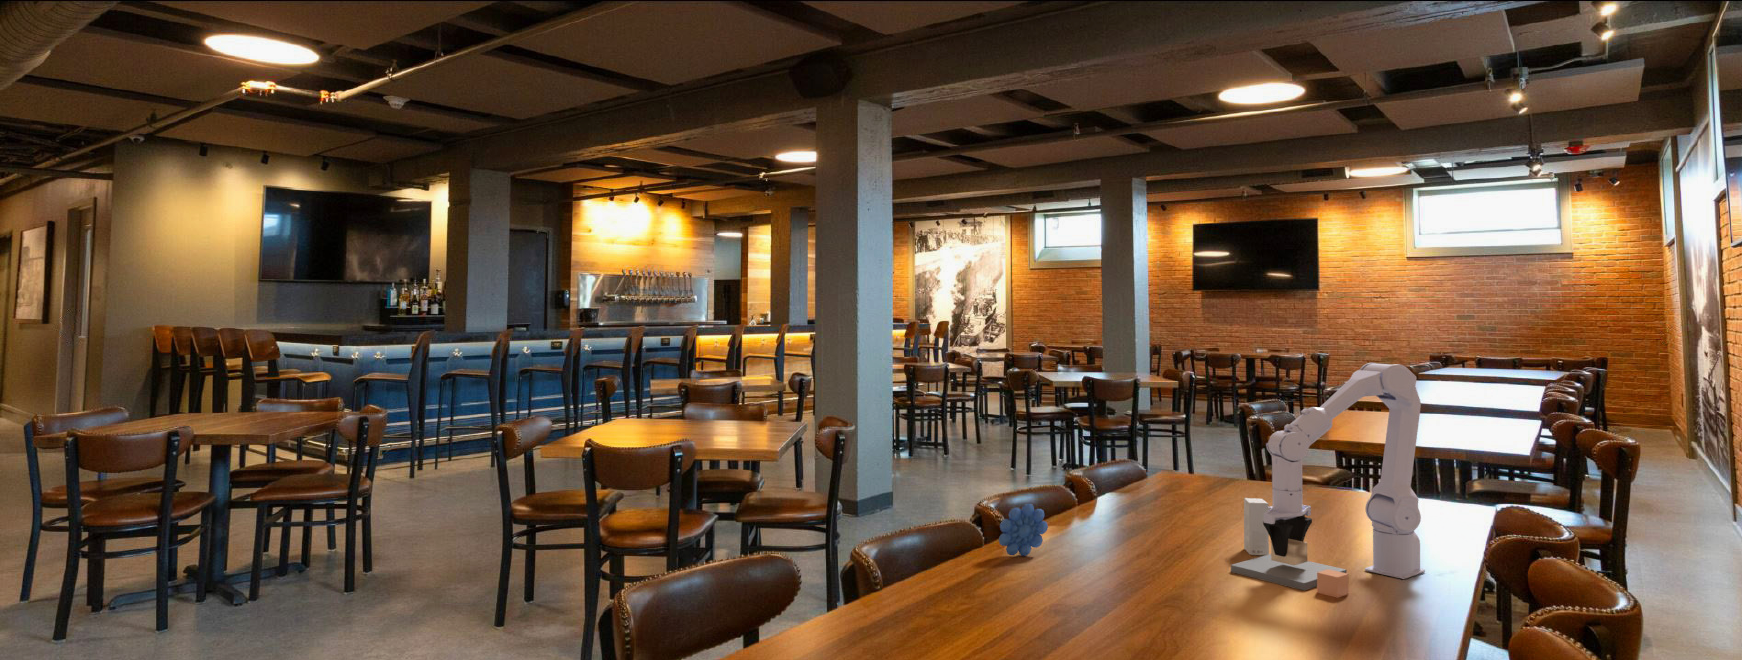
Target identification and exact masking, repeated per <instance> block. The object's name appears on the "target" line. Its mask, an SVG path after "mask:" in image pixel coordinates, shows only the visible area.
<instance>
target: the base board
mask: <svg viewBox="0 0 1742 660" xmlns="http://www.w3.org/2000/svg"><path fill="white" fill-rule="evenodd" d="M1307 561H1308V562H1305V563H1301V564H1298V565H1295V566H1294V565H1290V564H1285V563H1281V562H1277V561H1272V560H1271V553H1269V555H1261V556H1259V557H1254V558H1251V559H1248V560H1244V561H1241V562H1236V563H1233V564H1230V572H1231V573H1233V574H1238V575H1242V576H1246V577H1249V578H1253V579H1256V580H1257V579H1258V580H1261V581H1266V582H1268V583H1273V584H1277V585H1280V586H1285V587H1289V588H1293V589H1297V590H1301V591H1307V590H1310V589H1314V588H1317V572H1320V571H1324V570H1327V569H1329V570H1334V571H1338V572H1342V573H1347V574H1348V571H1347V569H1346V568H1341V567H1336V566H1331V565H1328V564H1322V563H1318V562H1315V561H1314V562H1313V561H1309V560H1307Z"/></svg>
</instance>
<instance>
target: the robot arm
mask: <svg viewBox="0 0 1742 660" xmlns="http://www.w3.org/2000/svg"><path fill="white" fill-rule="evenodd" d="M1417 379H1418V378H1417V376H1416V375H1415V374H1414V373H1413V372H1412V371H1411V370H1410V369H1409V368H1408V367H1406V366H1405V365H1403V364H1398V363H1397V364H1389V363H1378V362H1369V363H1365V364H1363V365H1362V366H1361V367H1360V369H1358V370H1356V371H1354V372H1352V374H1351V376H1350V378H1349V379H1348V380H1347V381H1346V382H1345V383H1344V384H1343V385H1341V387H1340V388H1339V389H1338V390H1336V392H1334V393H1333V394H1332V395H1331V396H1330V397H1329V398H1328V399H1327V400H1325V402H1324V403H1323V404H1321V405H1320V407H1316V406H1311V407H1309V408H1303V409H1302V410H1301V411H1300V413H1301V414H1300V415H1299V416H1298V417H1297V418H1295V419H1294V420H1292V422H1291V423H1290V424H1288V423H1286V424H1285V425H1284V427H1283V428H1284V429H1283V430H1277V431H1274V433H1272V434H1271V435H1270V437H1269V439H1268V442H1266V443H1265V447H1266V450H1267V451H1268V453H1269V454H1270V456H1271V464H1272V465H1271V470H1272V471H1271V482H1272V484H1271V486H1272V490H1271V492H1272V505H1270V506H1269V507H1268V510H1269V511H1268V512H1266V513H1264V514H1263V518H1264V520H1263V525H1264V527H1265V528H1266V530H1267V532H1268V534H1269V540H1270V543H1271V542H1272V545H1273V549H1274V552H1275V555H1279V556H1283V557H1285V556H1286V554H1287V548H1288V539H1293V540H1297V541H1302V542H1305V538H1306V535H1307V531H1308V529H1309V528H1310V527H1311V525H1312V523H1313V519H1312V518H1311V517H1310V516H1311V515H1312V512H1311V511H1312V508H1311V505H1305V504H1303V502H1304V501H1303V500H1304V499H1303V497H1304V496H1303V458H1305V457H1307V455H1308V452H1309V448H1310V446H1312V444H1314V443H1315V442H1316V441H1317V440H1319V439H1320V438H1321V437H1322V436H1323V435H1325V434H1326V433H1327V432H1328V431H1330V430H1331V429H1332V427H1333V420H1334V419H1335V418H1336V417H1338V416H1339V415H1340V414H1342V413H1343V412H1345V411H1346V410H1348V408H1350V407H1351V406H1353V405H1354V404H1355V403H1357V402H1358V401H1359V400H1361V399H1362V398H1365V397H1376V398H1379V400H1380V401H1381V402H1382V403H1383V404H1384V405H1385V406H1386V407H1387V408H1388V410H1389V411H1388V420H1387V425H1386V426H1387V427H1386V434H1385V442H1384V451H1383V458H1382V459H1383V460H1382V465H1381V474H1380V481H1379V482H1378V483H1377V484H1375V485H1374V486H1373V487H1372V490H1371V495H1370V497H1369V498H1368V500H1367V501H1366V504H1365V514H1366V516H1367V518H1368V519H1369V520H1370V521H1371V526H1372V555H1373V556H1372V558H1373V560H1372V562H1373V563H1372V565H1371V566H1367V567H1364V571H1366V572H1370V573H1374V574H1380V575H1384V576H1388V577H1392V578H1397V579H1402V580H1406V579H1409V578H1411V577H1414V576H1417V575H1420V574H1422V573H1425V572H1426V569H1424V568H1421V540H1420V538H1419V536H1418V534H1417V533H1416V532H1415V530H1416V529H1417V528H1418V527H1419V526H1420V523H1421V519H1422V517H1421V516H1422V515H1421V512H1420V510H1419V509H1420V508H1419V497H1418V495H1417V494H1416V493H1415V491H1414V490H1413V489H1412V486H1411V485H1412V478H1413V471H1414V470H1413V469H1414V463H1415V462H1414V461H1415V455H1416V454H1415V453H1416V447H1417V446H1416V445H1417V439H1418V431H1419V423H1420V422H1419V421H1420V415H1421V406H1422V402H1421V399H1420V395H1419V393H1418V390H1417V386H1416V385H1417ZM1306 516H1309V517H1306Z"/></svg>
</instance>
